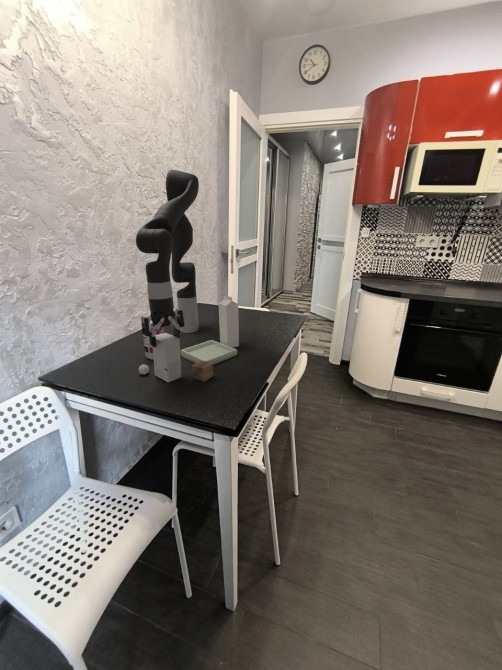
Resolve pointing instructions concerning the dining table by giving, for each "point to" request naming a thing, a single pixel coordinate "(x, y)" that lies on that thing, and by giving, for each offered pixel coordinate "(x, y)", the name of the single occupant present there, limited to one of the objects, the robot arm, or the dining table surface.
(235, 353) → the tray
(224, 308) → the milk
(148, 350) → the supplement can
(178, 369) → the skincare box
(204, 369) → the walnut block
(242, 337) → the dining table surface
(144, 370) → the white egg
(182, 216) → the robot arm
